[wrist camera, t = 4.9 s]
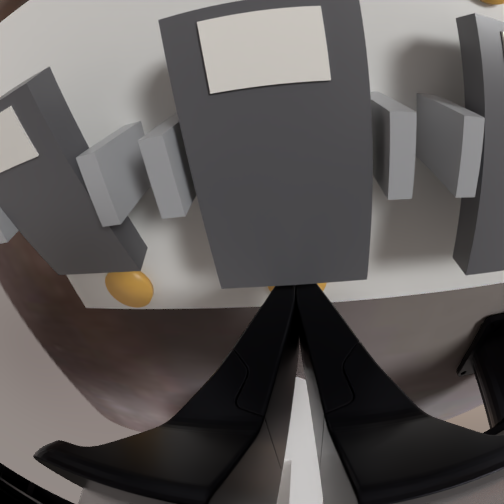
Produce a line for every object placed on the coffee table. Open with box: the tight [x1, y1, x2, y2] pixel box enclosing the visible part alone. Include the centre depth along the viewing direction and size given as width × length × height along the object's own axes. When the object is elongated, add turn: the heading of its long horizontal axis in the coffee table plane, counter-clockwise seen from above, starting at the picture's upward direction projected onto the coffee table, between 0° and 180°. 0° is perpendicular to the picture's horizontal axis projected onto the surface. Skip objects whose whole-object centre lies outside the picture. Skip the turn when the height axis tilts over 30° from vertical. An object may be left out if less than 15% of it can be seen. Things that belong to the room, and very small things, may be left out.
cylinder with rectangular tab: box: [277, 377, 323, 504], centre depth 17 cm, size 9×9×12 cm
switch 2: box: [158, 0, 373, 289], centre depth 7 cm, size 7×4×1 cm, turn 9°
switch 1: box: [0, 66, 148, 275], centre depth 8 cm, size 7×4×1 cm, turn 9°
